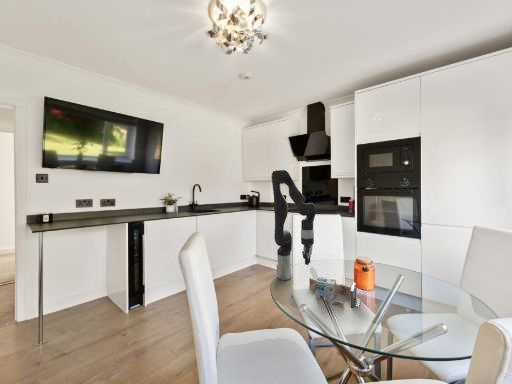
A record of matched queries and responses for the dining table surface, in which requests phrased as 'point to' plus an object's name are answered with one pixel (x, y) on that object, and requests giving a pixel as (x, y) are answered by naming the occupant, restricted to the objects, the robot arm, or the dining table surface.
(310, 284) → the shelf
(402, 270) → the dining table surface
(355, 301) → the bookend
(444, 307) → the dining table surface
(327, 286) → the light bulb box
